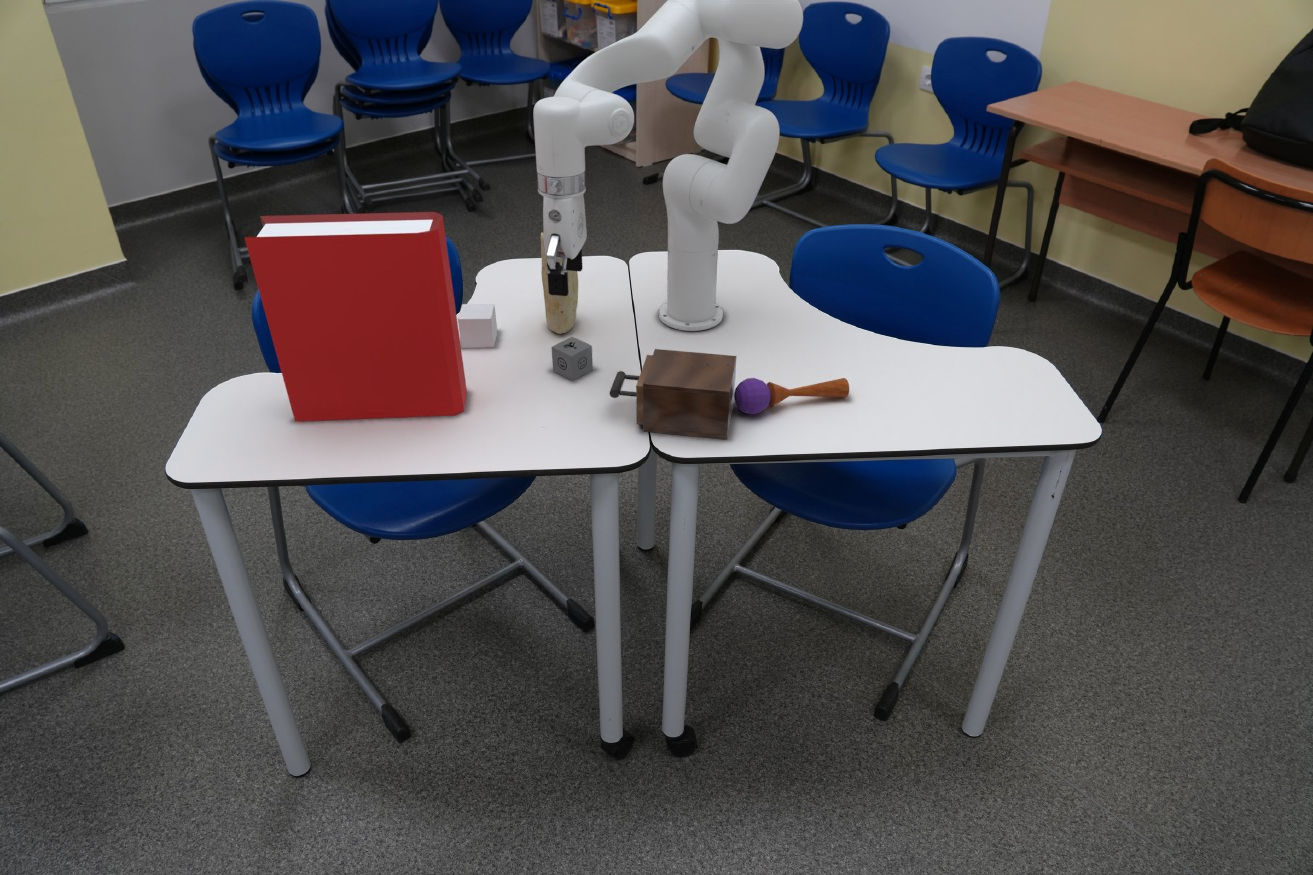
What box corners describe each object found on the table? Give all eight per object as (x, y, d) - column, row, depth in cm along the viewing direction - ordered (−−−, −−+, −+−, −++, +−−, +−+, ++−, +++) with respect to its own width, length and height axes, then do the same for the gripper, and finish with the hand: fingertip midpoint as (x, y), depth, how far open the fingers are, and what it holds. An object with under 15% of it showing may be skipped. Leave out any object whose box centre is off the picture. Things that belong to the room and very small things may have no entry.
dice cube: (573, 360, 165) (571, 336, 162) (592, 370, 162) (591, 345, 159) (553, 371, 162) (551, 346, 159) (572, 381, 159) (571, 356, 156)
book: (295, 421, 148) (244, 237, 130) (306, 395, 155) (260, 216, 136) (463, 415, 150) (437, 232, 131) (467, 389, 156) (443, 211, 138)
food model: (577, 338, 171) (572, 238, 160) (542, 337, 171) (534, 238, 160) (582, 314, 179) (577, 217, 168) (548, 313, 179) (541, 217, 168)
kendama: (856, 386, 150) (745, 396, 145) (846, 412, 154) (737, 423, 149) (842, 363, 154) (733, 372, 149) (833, 389, 158) (726, 398, 153)
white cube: (494, 347, 168) (490, 318, 165) (461, 348, 168) (457, 319, 165) (497, 331, 173) (494, 303, 170) (466, 332, 173) (462, 304, 170)
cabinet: (643, 431, 146) (642, 383, 141) (654, 395, 155) (654, 348, 150) (727, 439, 144) (729, 391, 139) (733, 402, 153) (736, 355, 148)
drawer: (607, 421, 147) (606, 383, 143) (619, 389, 155) (618, 352, 151) (713, 431, 145) (715, 393, 141) (720, 398, 153) (722, 361, 149)
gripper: (571, 202, 134) (575, 307, 144) (597, 166, 148) (599, 263, 158) (522, 199, 135) (530, 303, 145) (552, 163, 149) (557, 259, 159)
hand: (566, 282), depth 151 cm, fingers open, 9 cm apart
